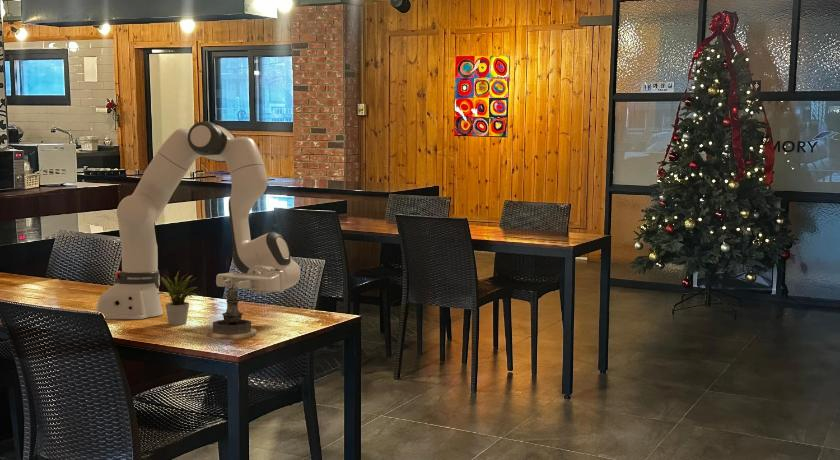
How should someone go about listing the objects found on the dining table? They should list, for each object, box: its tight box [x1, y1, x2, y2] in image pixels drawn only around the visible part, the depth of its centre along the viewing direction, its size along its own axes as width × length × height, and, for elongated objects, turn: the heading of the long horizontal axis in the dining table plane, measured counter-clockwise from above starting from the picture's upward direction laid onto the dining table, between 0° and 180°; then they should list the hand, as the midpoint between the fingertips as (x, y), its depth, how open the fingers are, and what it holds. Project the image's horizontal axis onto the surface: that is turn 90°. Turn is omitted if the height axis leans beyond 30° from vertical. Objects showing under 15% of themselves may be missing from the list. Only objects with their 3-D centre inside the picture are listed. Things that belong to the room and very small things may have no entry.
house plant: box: [153, 270, 198, 326], centre depth 284 cm, size 14×14×16 cm
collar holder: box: [206, 318, 258, 340], centre depth 270 cm, size 14×14×4 cm
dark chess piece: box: [221, 285, 244, 325], centre depth 269 cm, size 6×6×12 cm
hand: (230, 284), depth 268 cm, fingers open, 3 cm apart
